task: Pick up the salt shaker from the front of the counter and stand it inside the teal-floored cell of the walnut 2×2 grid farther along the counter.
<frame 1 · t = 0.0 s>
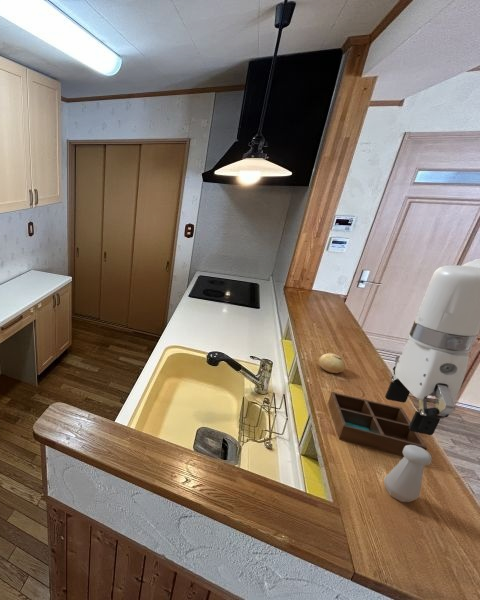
hand: (406, 415, 63), 24 cm above the worktop, tool pointing down, fingers open, 9 cm apart
tan oval lump: (329, 370, 122), on the worktop
salt shaker: (397, 494, 74), on the worktop
grid: (368, 429, 93), on the worktop
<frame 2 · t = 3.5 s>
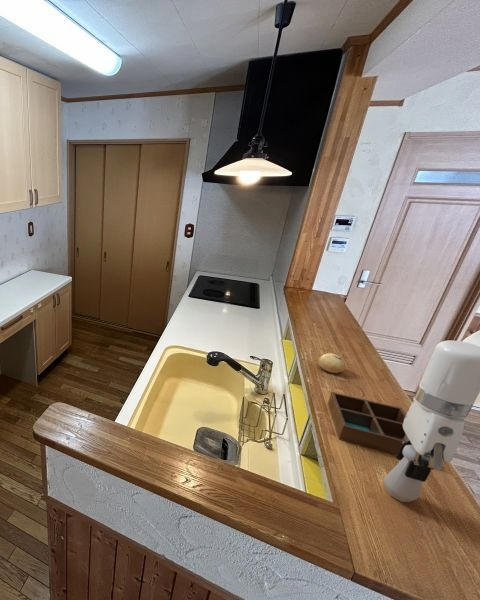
hand: (409, 468, 71), 8 cm above the worktop, tool pointing down, fingers closed on salt shaker, 4 cm apart
salt shaker: (397, 494, 74), on the worktop, touching gripper
everything else where it was.
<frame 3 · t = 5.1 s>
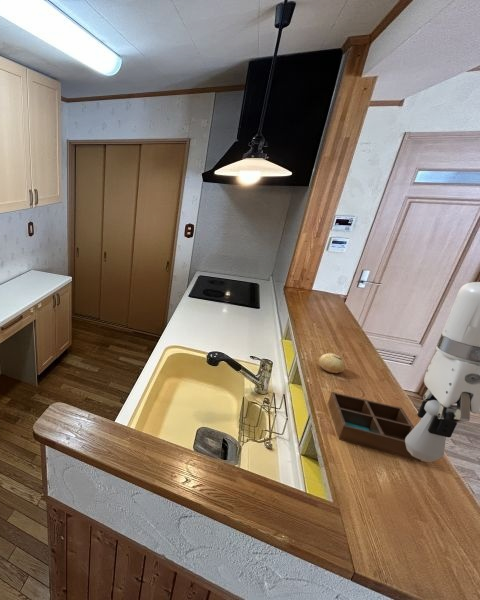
hand: (433, 425, 67), 20 cm above the worktop, tool pointing down, fingers closed on salt shaker, 4 cm apart
salt shaker: (419, 455, 69), point 12 cm above the worktop, touching gripper
everything else where it was.
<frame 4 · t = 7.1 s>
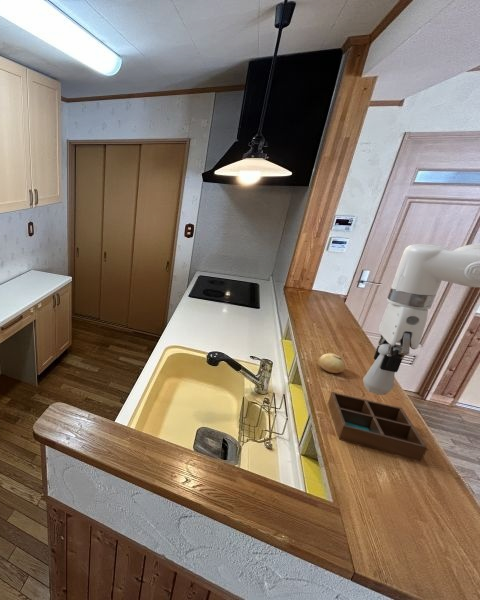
hand: (384, 364, 82), 23 cm above the worktop, tool pointing down, fingers closed on salt shaker, 4 cm apart
salt shaker: (374, 390, 84), point 16 cm above the worktop, touching gripper
everything else where it was.
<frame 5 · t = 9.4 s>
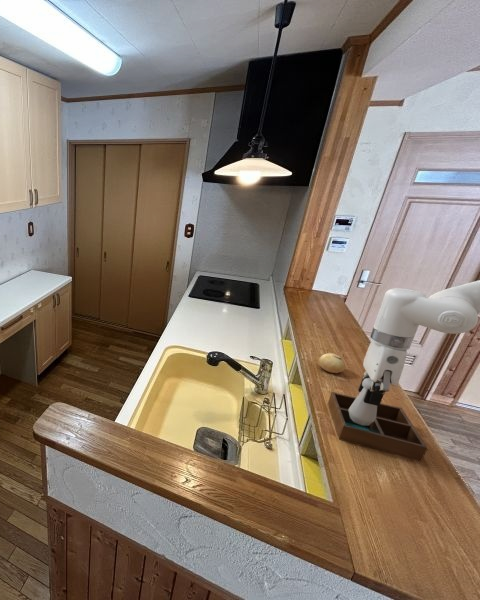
hand: (368, 397, 87), 12 cm above the worktop, tool pointing down, fingers closed on salt shaker, 4 cm apart
salt shaker: (359, 421, 89), point 4 cm above the worktop, touching gripper
everything else where it was.
when the fingers open (9 cm above the worktop, at t = 10.8 s): salt shaker stays where it is, resting on grid.
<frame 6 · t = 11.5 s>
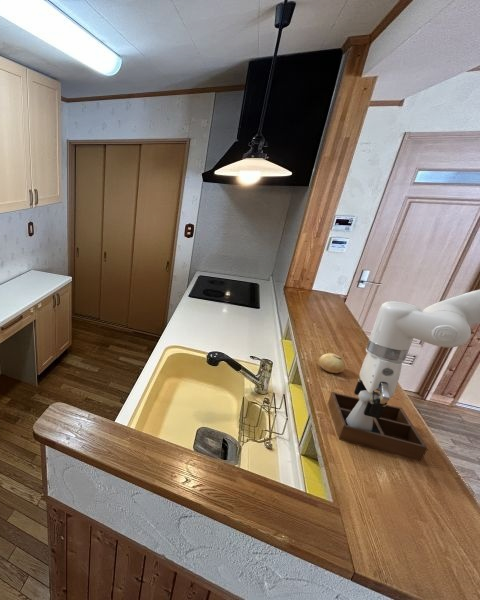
hand: (365, 405, 88), 10 cm above the worktop, tool pointing down, fingers open, 9 cm apart
salt shaker: (355, 432, 91), point 1 cm above the worktop, touching grid
everything else where it was.
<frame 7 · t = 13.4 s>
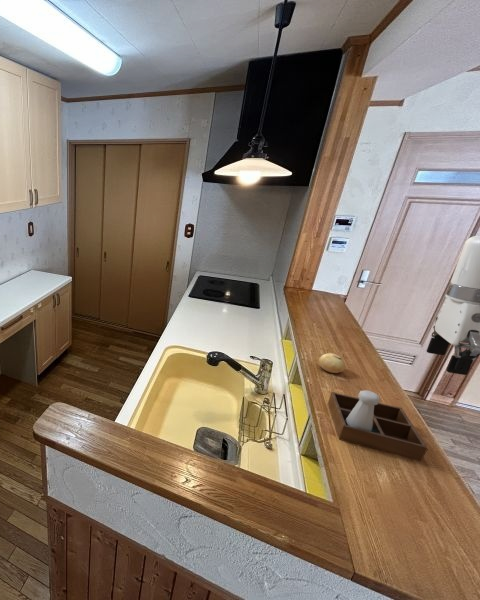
hand: (445, 362, 76), 27 cm above the worktop, tool pointing down, fingers open, 9 cm apart
nothing on the worktop moved.
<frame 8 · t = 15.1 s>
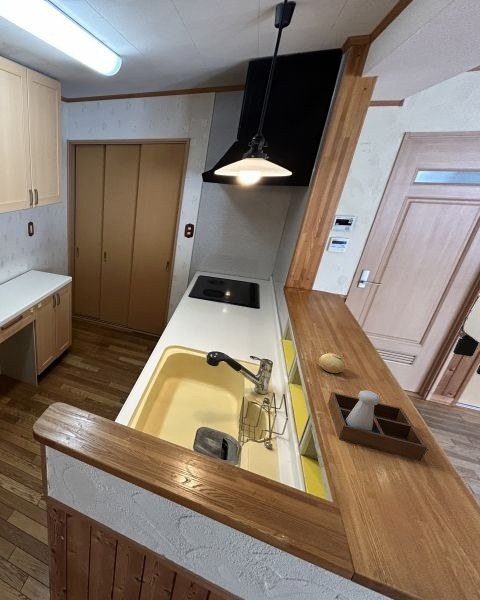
hand: (473, 364, 73), 28 cm above the worktop, tool pointing down, fingers open, 9 cm apart
nothing on the worktop moved.
at the end: salt shaker 0.0 cm from the target spot in the grid, point 0.6 cm above the grid's base; salt shaker tilted 0° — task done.
